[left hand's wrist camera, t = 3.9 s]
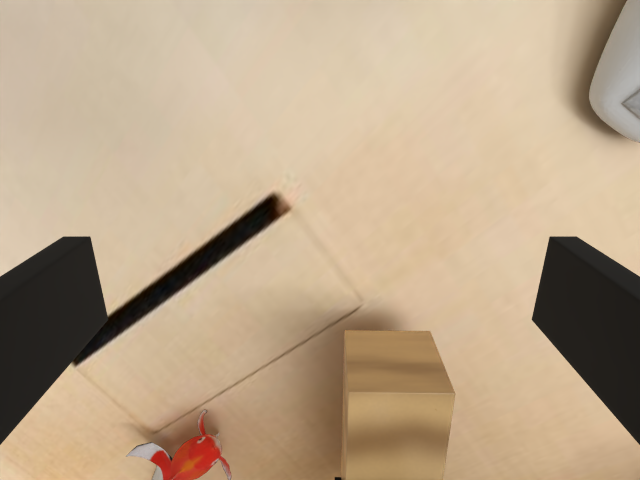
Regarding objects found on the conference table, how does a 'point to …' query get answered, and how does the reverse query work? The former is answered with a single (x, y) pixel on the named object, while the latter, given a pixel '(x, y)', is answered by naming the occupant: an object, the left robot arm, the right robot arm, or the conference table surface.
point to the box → (394, 406)
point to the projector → (620, 75)
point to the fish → (185, 457)
